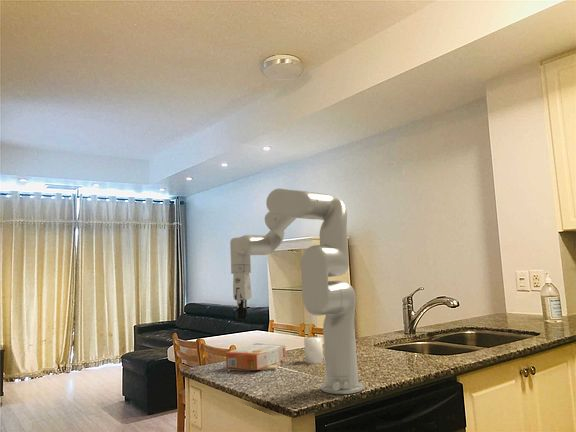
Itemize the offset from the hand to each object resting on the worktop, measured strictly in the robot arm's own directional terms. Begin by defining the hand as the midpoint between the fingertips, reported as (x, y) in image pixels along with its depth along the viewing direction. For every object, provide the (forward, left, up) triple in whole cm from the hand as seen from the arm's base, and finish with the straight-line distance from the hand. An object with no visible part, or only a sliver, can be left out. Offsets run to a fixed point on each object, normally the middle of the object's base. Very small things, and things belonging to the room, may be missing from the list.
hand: (242, 318), depth 164 cm
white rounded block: (+12, -25, -19) cm, 33 cm away
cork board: (+6, -3, -19) cm, 20 cm away
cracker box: (-4, 0, -15) cm, 15 cm away
